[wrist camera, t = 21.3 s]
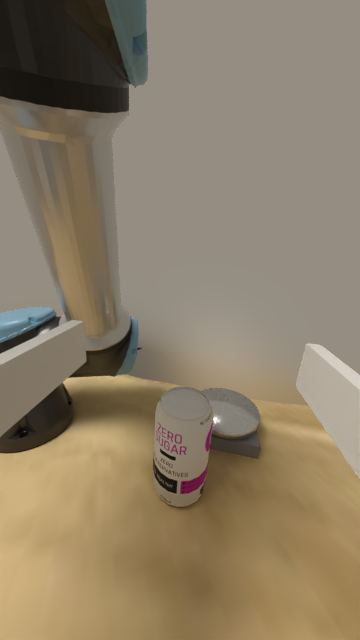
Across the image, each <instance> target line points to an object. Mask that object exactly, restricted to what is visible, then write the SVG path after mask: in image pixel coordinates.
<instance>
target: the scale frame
mask: <svg viewBox="0 0 360 640" xmlns="http://www.w3.org/2000/svg"><path fill="white" fill-rule="evenodd" d="M210 448H212V449H217V450H221V451H226V452H230V453H235V454H240V455H244V456H249V457H253V458H258V454H259V449H260V444H259V439H258V433H257V430H256V431H255V432H254V433H253V434H251V435H250V436H248V437H244V438H240V439H228V438H222V437H219V436H216V435H213V434H211V442H210Z"/></svg>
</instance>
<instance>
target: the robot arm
mask: <svg viewBox="0 0 360 640" xmlns="http://www.w3.org/2000/svg"><path fill="white" fill-rule="evenodd" d="M146 12H147V11H146V0H0V131H1V134H2V136H3V140H4V142H5V145H6V148H7V151H8V154H9V157H10V160H11V162H12V165H13V168H14V171H15V174H16V177H17V180H18V182H19V185H20V188H21V191H22V194H23V197H24V200H25V203H26V206H27V208H28V211H29V214H30V217H31V219H32V223H33V226H34V228H35V231H36V234H37V237H38V240H39V243H40V246H41V248H42V251H43V254H44V257H45V260H46V263H47V266H48V269H49V271H50V274H51V277H52V280H53V283H54V286H55V288H56V291H57V294H58V297H59V300H60V303H61V306H62V309H63V311H64V313H63V315H62V316H61V317H56V312H55V310H54V309H53V308H51V307H49V308H48V307H32V308H24V309H18V310H12V311H8V312H4V313H0V452H6V453H8V452H19V451H23V450H27V449H31V448H34V447H36V446H39V445H41V444H43V443H45V442H47V441H49V440H51V439H53V438H54V437H56V436H57V435H58V434H60V433H61V432H62V431H63V430H64V429H65V428H66V427H67V426H68V425H69V423H70V422H71V420H72V418H73V415H74V407H73V400H72V398H71V396H70V395H69V393H68V391H67V389H66V387H65V386H64V384H63V381H65V380H66V379H67V378H71V377H91V376H117V375H123V374H128V373H130V372H131V371H132V370H133V368H134V365H135V361H136V355H137V346H138V321H137V319H136V318H134V317H131V316H129V313H128V311H127V310H126V308H125V307H124V306H123V305H121V297H120V278H119V262H118V243H117V225H116V209H115V208H116V207H115V189H114V172H113V154H112V136H113V133H114V131H115V130H116V129H117V128H118V127H119V126H120V124H121V123H122V122H123V121H124V120H125V119H126V117H127V116H128V115H129V84H132V85H133V86H134V87H135V88H136V87H137V86H139V85H143V84H144V83H145V82H146V81H147V76H148V55H147V31H146ZM296 388H297V389H298V391H299V392H300V393H301V395H302V396H303V398H304V399H305V401H306V402H307V404H308V405H309V407H310V408H311V409H312V411H313V412H314V414H315V415H316V417H317V418H318V420H319V421H320V422H321V424H322V425H323V427H324V428H325V430H326V431H327V433H328V434H329V436H330V437H331V438H332V440H333V441H334V443H335V444H336V446H337V447H338V449H339V450H340V451H341V453H342V454H343V456H344V457H345V459H346V460H347V462H348V463H349V465H350V466H351V467H352V469H353V470H354V472H355V473H356V475H357V476H358V478H359V479H360V375H359V374H358V373H356V372H355V371H353V370H352V369H351V368H350V367H348V366H347V365H346V364H344V363H343V362H342V361H341V360H339V359H338V358H337V357H335V356H334V355H333V354H332V353H330V352H329V351H328V350H326V349H325V348H324V347H322V346H321V345H316V344H306V346H305V351H304V354H303V358H302V362H301V366H300V370H299V374H298V378H297V382H296Z"/></svg>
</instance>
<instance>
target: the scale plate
mask: <svg viewBox="0 0 360 640" xmlns="http://www.w3.org/2000/svg"><path fill="white" fill-rule="evenodd" d="M201 392H202V393H204V394H205V395H206V396H207V397H208V399H209V400H210V405H211V407H212V409H213V415H214V418H213V426H212V434H213V435H216V436H219V437H222V438H228V439H240V438H244V437H248V436H250V435H251V434H253V433H254V432H255V431H256V430H257V428H258V425H259V420H260V414H259V411H258V409H257V407H256V406H255V404H254V403H253V402H252V401H251V400H249V399H248V398H247V397H245V396H244V395H242V394H240V393H237V392H234V391H231V390H228V389H222V388H210V389H206V390H203V391H201Z"/></svg>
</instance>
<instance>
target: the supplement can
mask: <svg viewBox="0 0 360 640" xmlns="http://www.w3.org/2000/svg"><path fill="white" fill-rule="evenodd" d="M213 418H214V415H213V409H212V407H211V405H210V400H209V399H208V397H207V396H206V395H205V394H204V393H202V392H201V391H199V390H197V389H194V388H189V387H176V388H172V389H170V390H168V391H166V392H165V393H164V394H163V395H162V396H161V399H160V401H159V402H158V404H157V406H156V410H155V433H154V459H153V484H154V489H155V491H156V493H157V494H158V496H159V498H161V499H162V500H163V501H164V502H166V503H167V504H169V505H173V506H176V507H182V506H188V505H190V504H192V503H194V502H196V501H197V500H198V499H199V497H200V496H201V495H202V493H203V490H204V487H205V481H206V473H207V465H208V458H209V450H210V442H211V434H212V426H213Z"/></svg>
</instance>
